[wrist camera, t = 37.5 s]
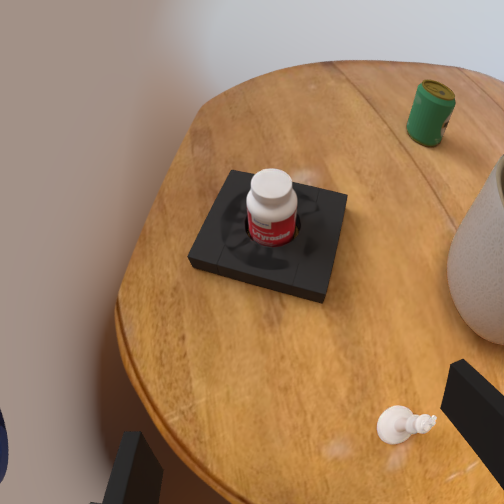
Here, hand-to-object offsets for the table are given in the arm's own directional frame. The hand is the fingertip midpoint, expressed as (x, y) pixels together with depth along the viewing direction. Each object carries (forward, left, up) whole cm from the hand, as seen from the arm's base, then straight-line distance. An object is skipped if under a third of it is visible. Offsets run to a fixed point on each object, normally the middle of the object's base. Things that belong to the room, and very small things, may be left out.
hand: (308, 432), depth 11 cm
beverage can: (+14, +57, -25) cm, 63 cm away
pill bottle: (-9, +23, -25) cm, 35 cm away
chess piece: (+13, +3, -25) cm, 28 cm away
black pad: (-9, +24, -24) cm, 35 cm away
